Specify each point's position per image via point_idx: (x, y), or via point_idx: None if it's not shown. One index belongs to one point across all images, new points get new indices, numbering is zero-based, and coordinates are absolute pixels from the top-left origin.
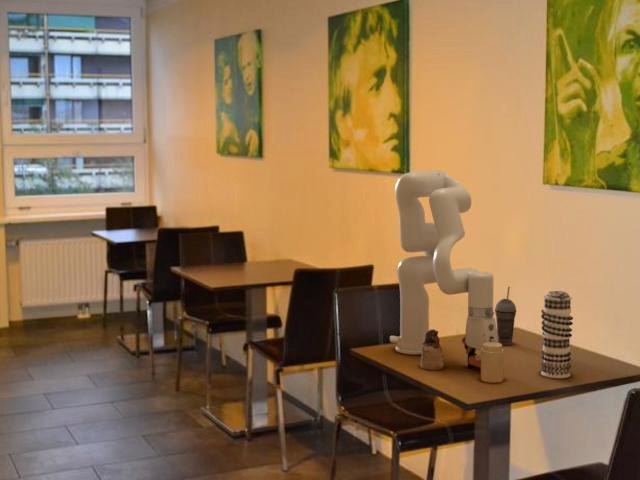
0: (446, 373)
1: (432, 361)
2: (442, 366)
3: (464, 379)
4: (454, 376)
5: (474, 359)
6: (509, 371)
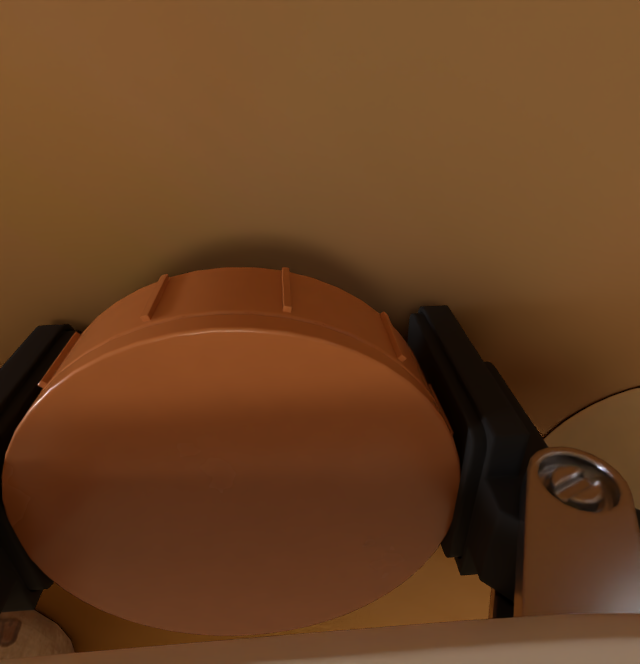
0: (213, 636)
1: None
2: (41, 640)
3: (440, 611)
4: (325, 627)
5: (309, 622)
6: (609, 34)
